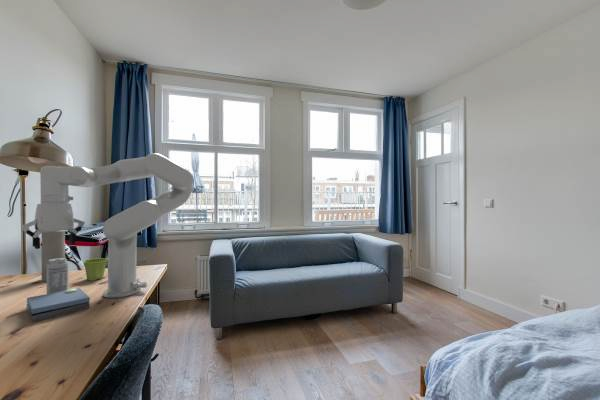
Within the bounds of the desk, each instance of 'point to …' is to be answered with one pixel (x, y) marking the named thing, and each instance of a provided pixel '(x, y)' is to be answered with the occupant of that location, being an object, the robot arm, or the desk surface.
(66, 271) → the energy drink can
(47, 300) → the plate
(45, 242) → the thermos bottle
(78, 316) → the desk surface
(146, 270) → the desk surface
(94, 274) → the plant pot
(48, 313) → the tribrach base
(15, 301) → the desk surface
